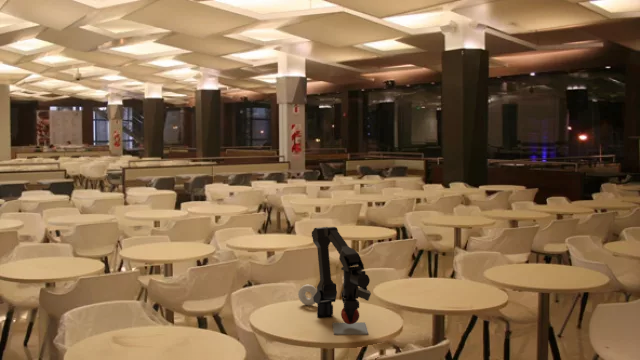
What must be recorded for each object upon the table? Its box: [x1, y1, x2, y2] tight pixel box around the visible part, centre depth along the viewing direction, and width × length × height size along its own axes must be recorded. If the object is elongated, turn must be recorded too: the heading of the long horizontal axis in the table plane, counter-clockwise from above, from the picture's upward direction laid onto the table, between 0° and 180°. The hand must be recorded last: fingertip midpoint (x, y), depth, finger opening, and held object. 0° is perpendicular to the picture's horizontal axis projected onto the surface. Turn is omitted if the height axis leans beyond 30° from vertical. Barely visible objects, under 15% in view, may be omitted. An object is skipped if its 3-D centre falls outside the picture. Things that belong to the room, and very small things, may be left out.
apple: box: [340, 307, 360, 324], centre depth 285 cm, size 7×8×8 cm
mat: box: [332, 321, 369, 336], centre depth 285 cm, size 14×14×1 cm
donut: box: [297, 283, 317, 306], centre depth 319 cm, size 10×4×10 cm, turn 70°
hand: (349, 318), depth 285 cm, fingers closed on apple, 7 cm apart
